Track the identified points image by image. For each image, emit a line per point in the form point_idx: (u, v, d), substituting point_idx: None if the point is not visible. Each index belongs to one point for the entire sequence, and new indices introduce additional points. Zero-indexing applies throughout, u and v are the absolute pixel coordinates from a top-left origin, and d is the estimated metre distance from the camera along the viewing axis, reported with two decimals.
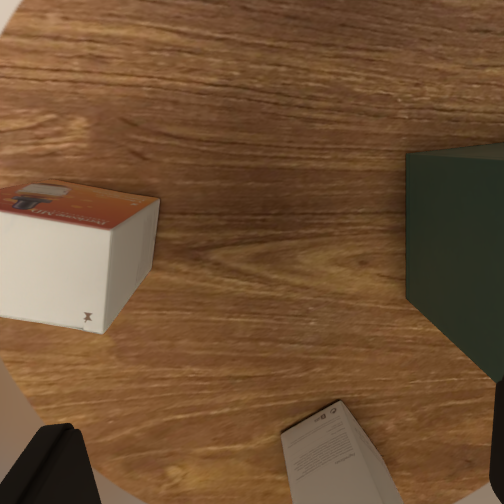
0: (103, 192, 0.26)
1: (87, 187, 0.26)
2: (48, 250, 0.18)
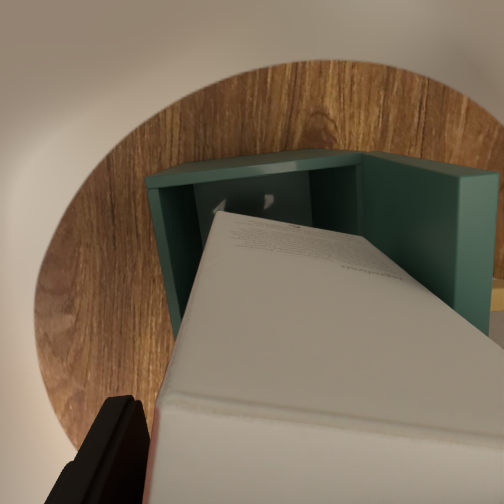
0: None
1: None
2: None
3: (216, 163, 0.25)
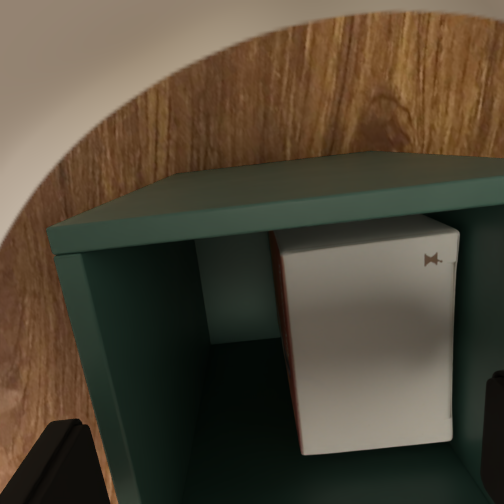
0: (272, 267, 0.21)
1: (274, 285, 0.22)
2: (335, 330, 0.12)
3: (224, 181, 0.13)
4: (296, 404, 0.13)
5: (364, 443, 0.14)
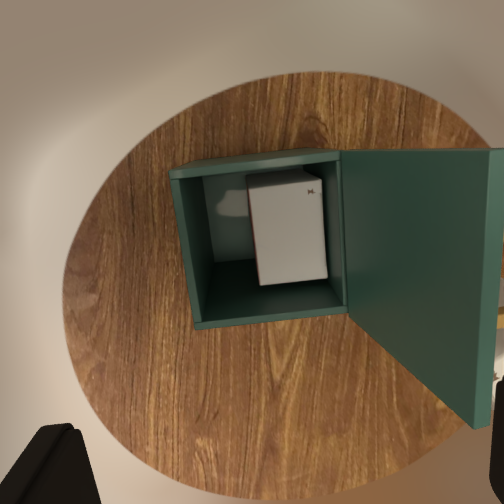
0: None
1: None
2: (272, 223, 0.29)
3: (224, 160, 0.30)
4: (256, 259, 0.30)
5: (287, 278, 0.30)
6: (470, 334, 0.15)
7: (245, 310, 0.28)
